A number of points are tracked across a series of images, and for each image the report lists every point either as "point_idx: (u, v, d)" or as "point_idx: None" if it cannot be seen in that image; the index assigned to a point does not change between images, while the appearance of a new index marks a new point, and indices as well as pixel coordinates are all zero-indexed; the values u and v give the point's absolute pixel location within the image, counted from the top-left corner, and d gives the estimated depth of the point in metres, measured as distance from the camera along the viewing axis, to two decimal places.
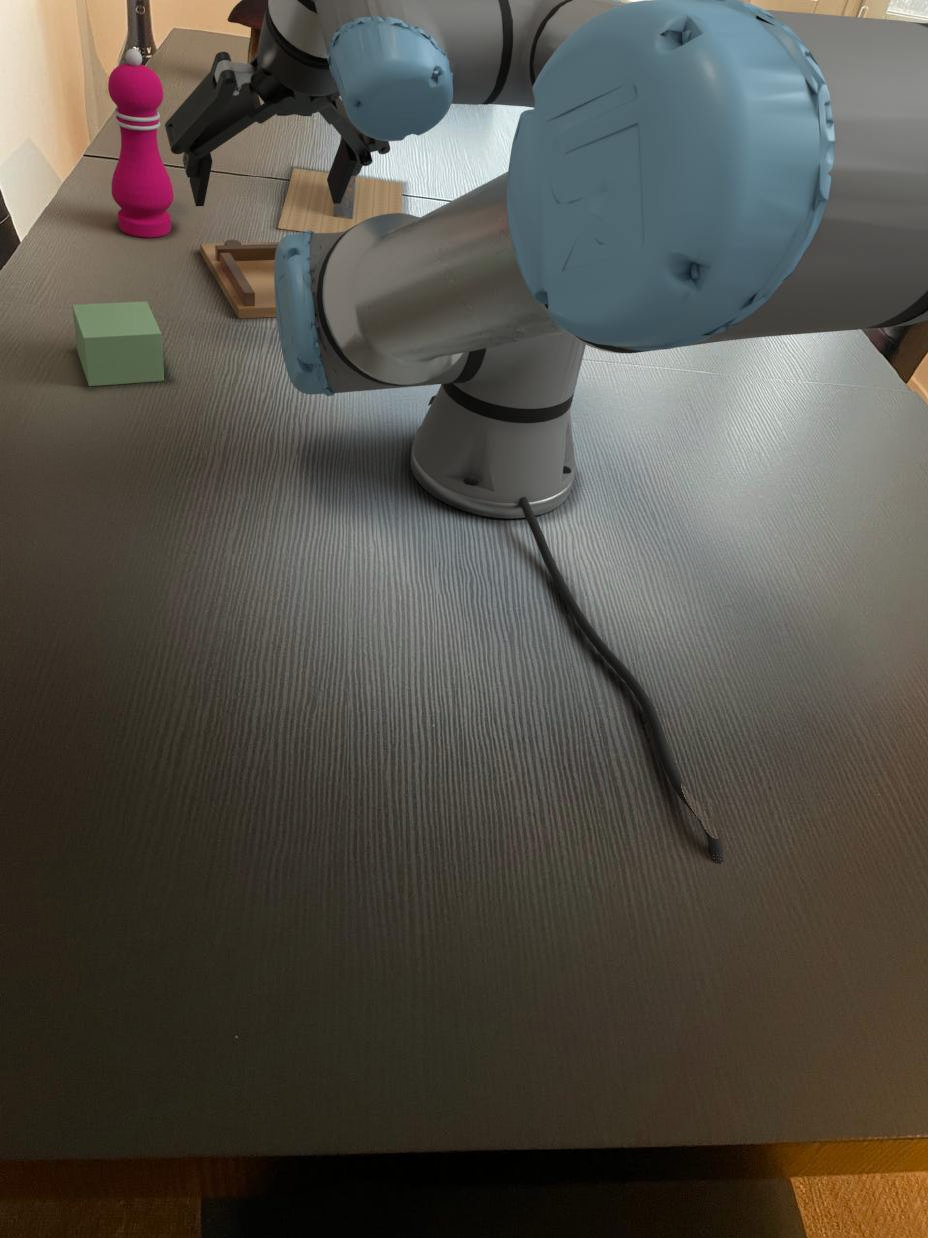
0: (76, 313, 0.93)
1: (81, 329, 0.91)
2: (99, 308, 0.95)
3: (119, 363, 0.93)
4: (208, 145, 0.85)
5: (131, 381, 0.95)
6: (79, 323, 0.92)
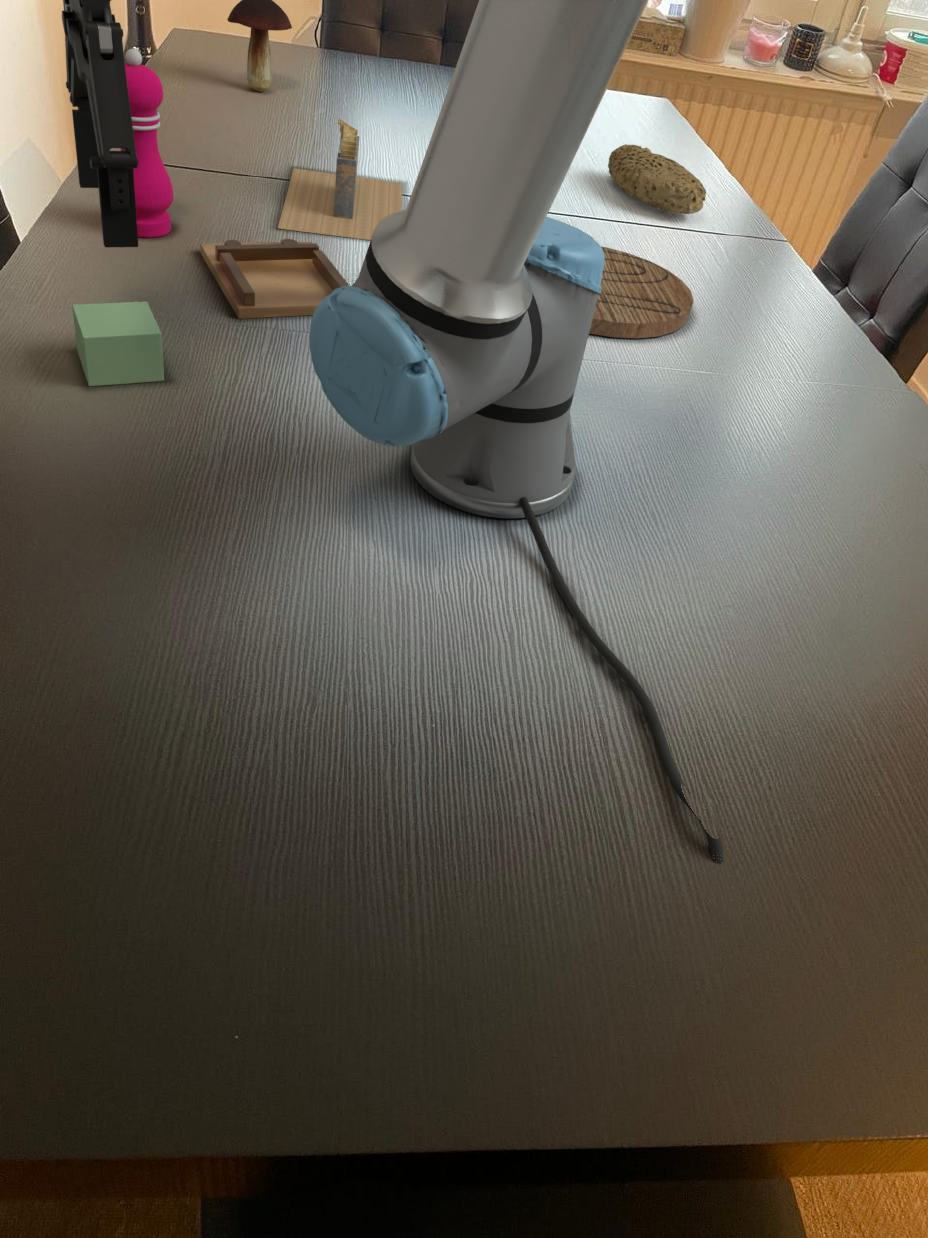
0: (76, 313, 0.93)
1: (81, 329, 0.91)
2: (99, 308, 0.95)
3: (119, 363, 0.93)
4: None
5: (131, 381, 0.95)
6: (79, 323, 0.92)
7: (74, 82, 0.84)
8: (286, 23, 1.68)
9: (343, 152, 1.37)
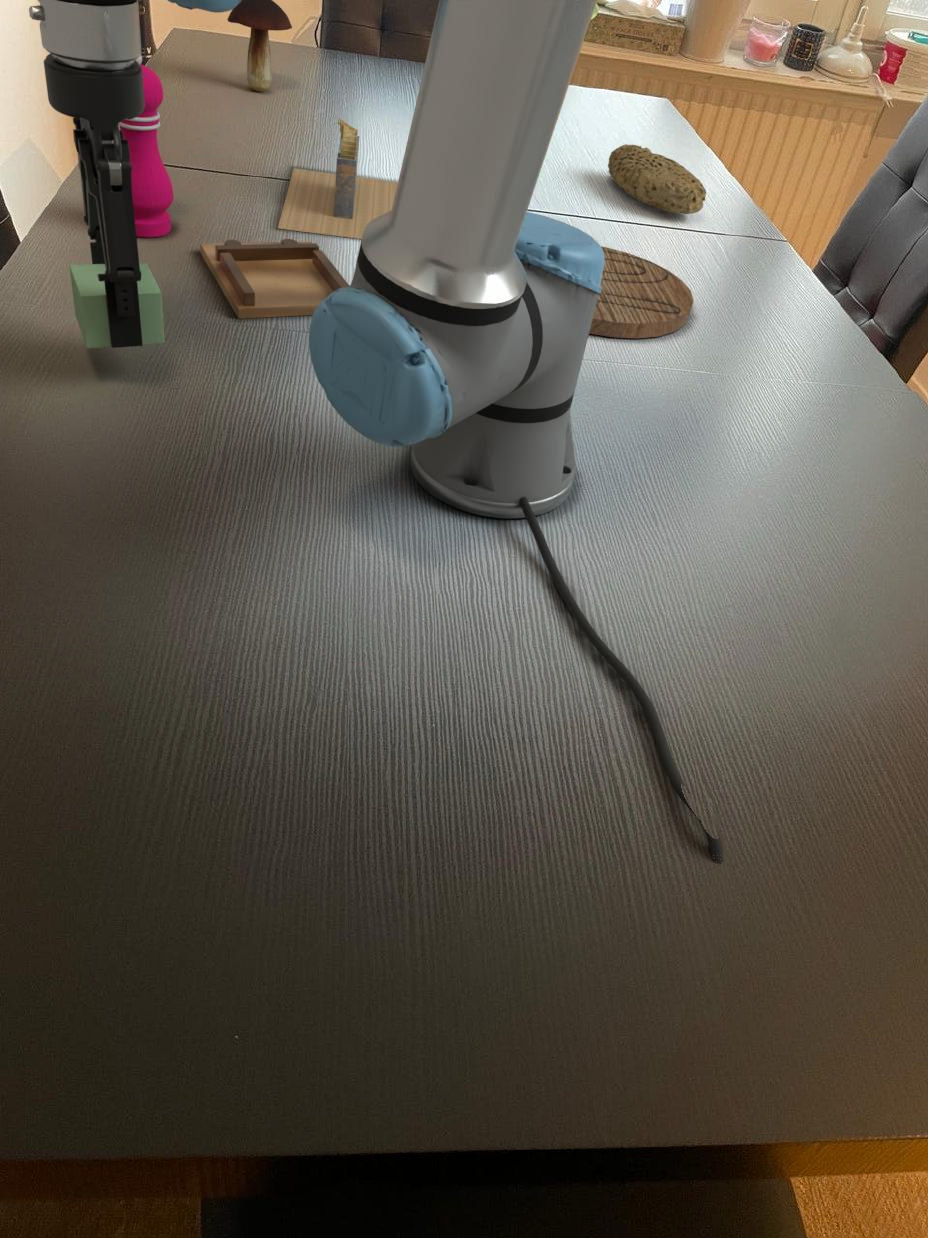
0: (73, 273, 0.91)
1: (78, 288, 0.88)
2: (97, 269, 0.92)
3: None
4: None
5: None
6: (76, 282, 0.89)
7: (90, 209, 0.89)
8: (286, 23, 1.68)
9: (343, 152, 1.37)
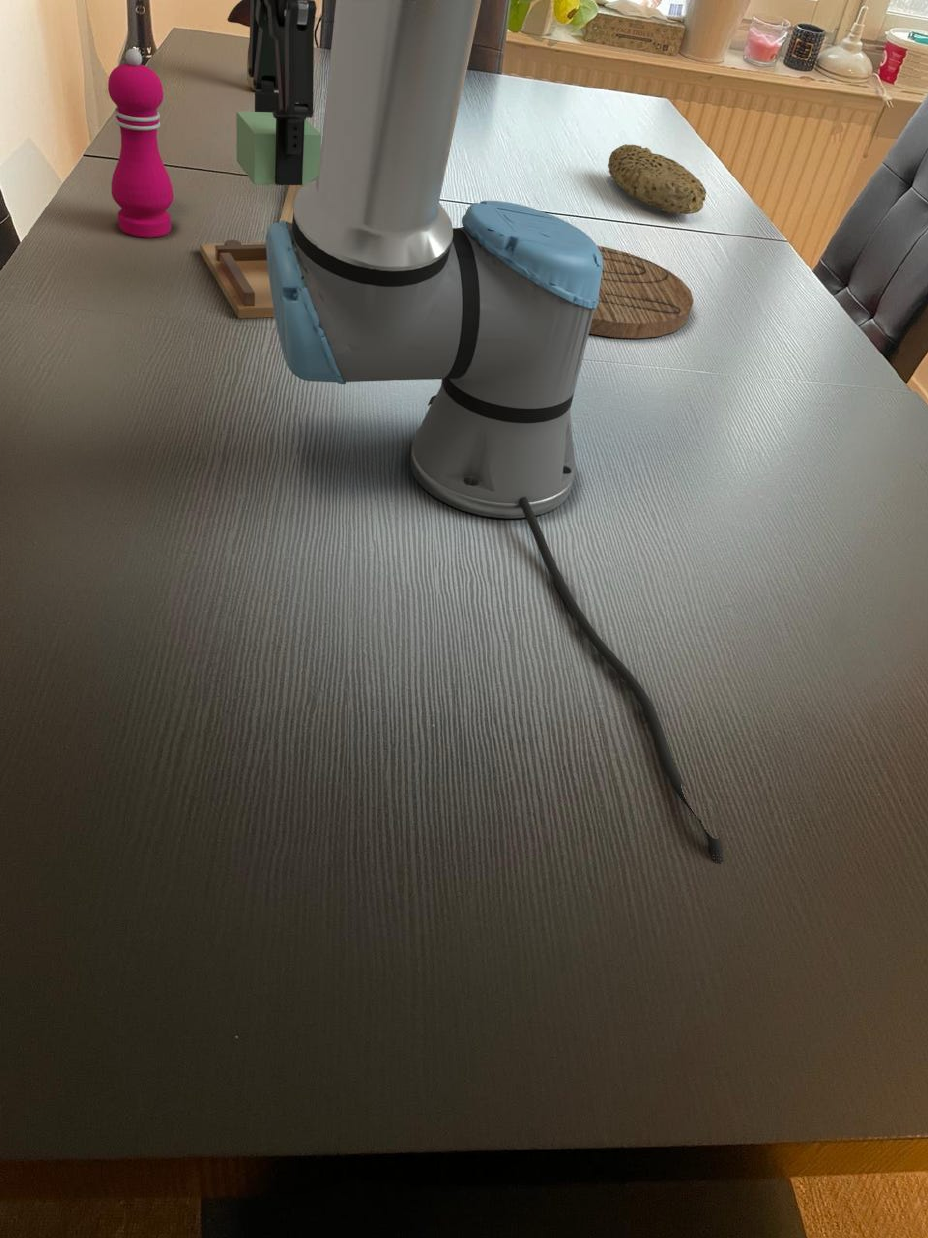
0: (242, 117, 1.01)
1: (250, 127, 0.99)
2: (261, 115, 1.03)
3: None
4: None
5: None
6: (247, 123, 1.00)
7: (260, 57, 1.00)
8: None
9: None
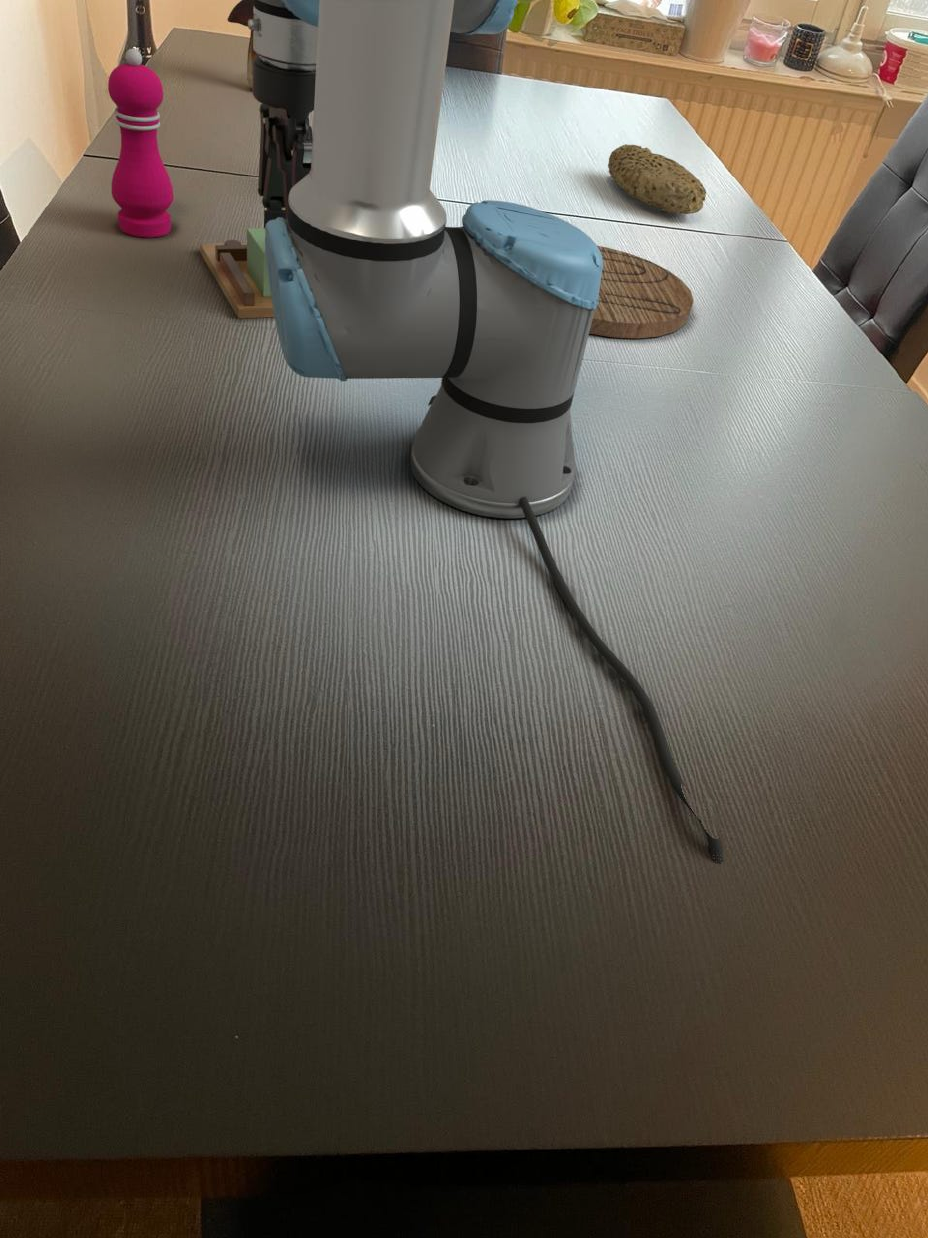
0: (252, 235, 1.11)
1: (260, 247, 1.08)
2: None
3: None
4: None
5: None
6: (257, 242, 1.09)
7: (269, 182, 1.09)
8: None
9: None
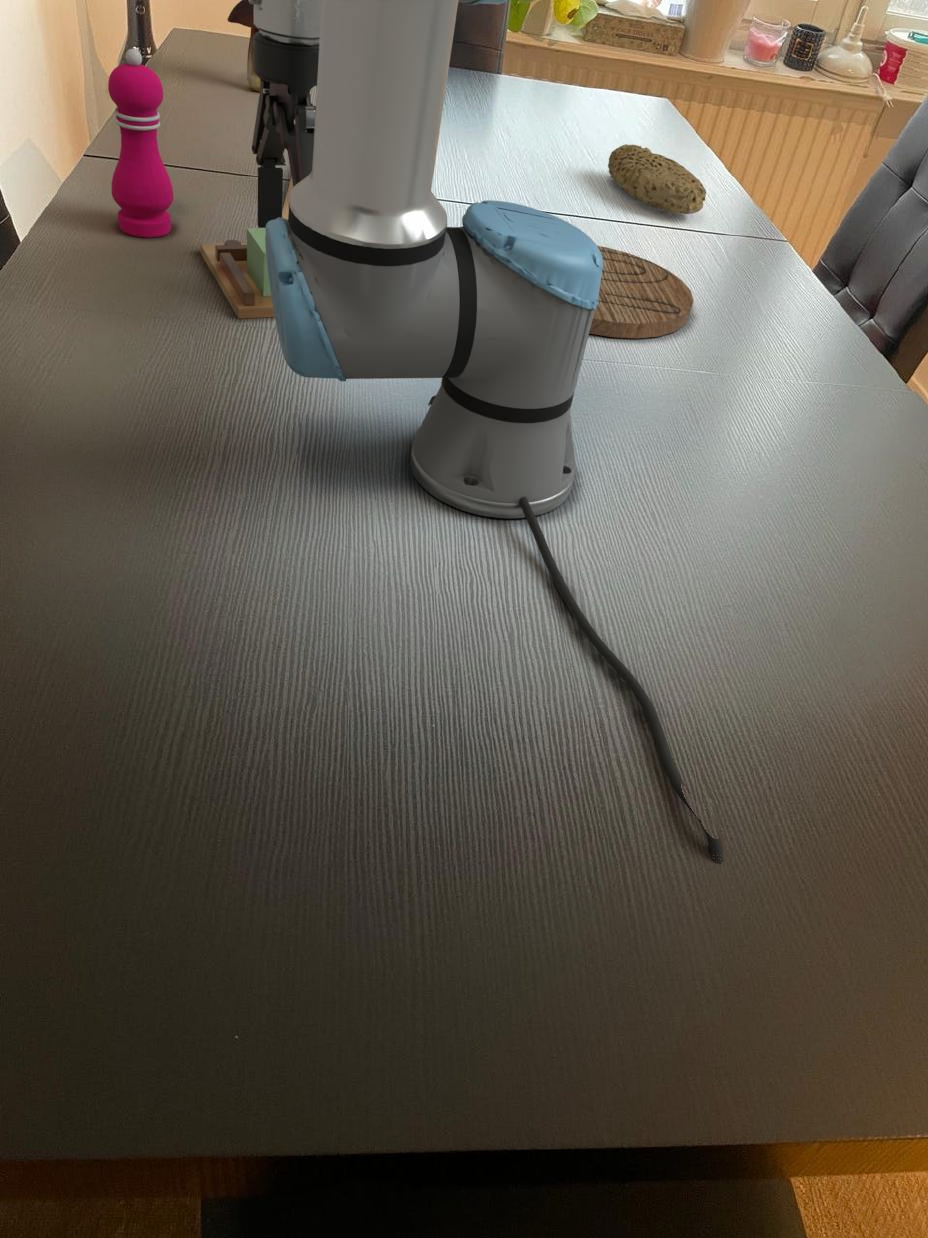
0: (252, 235, 1.11)
1: (260, 246, 1.08)
2: None
3: None
4: None
5: None
6: (257, 242, 1.09)
7: (264, 147, 1.08)
8: None
9: None
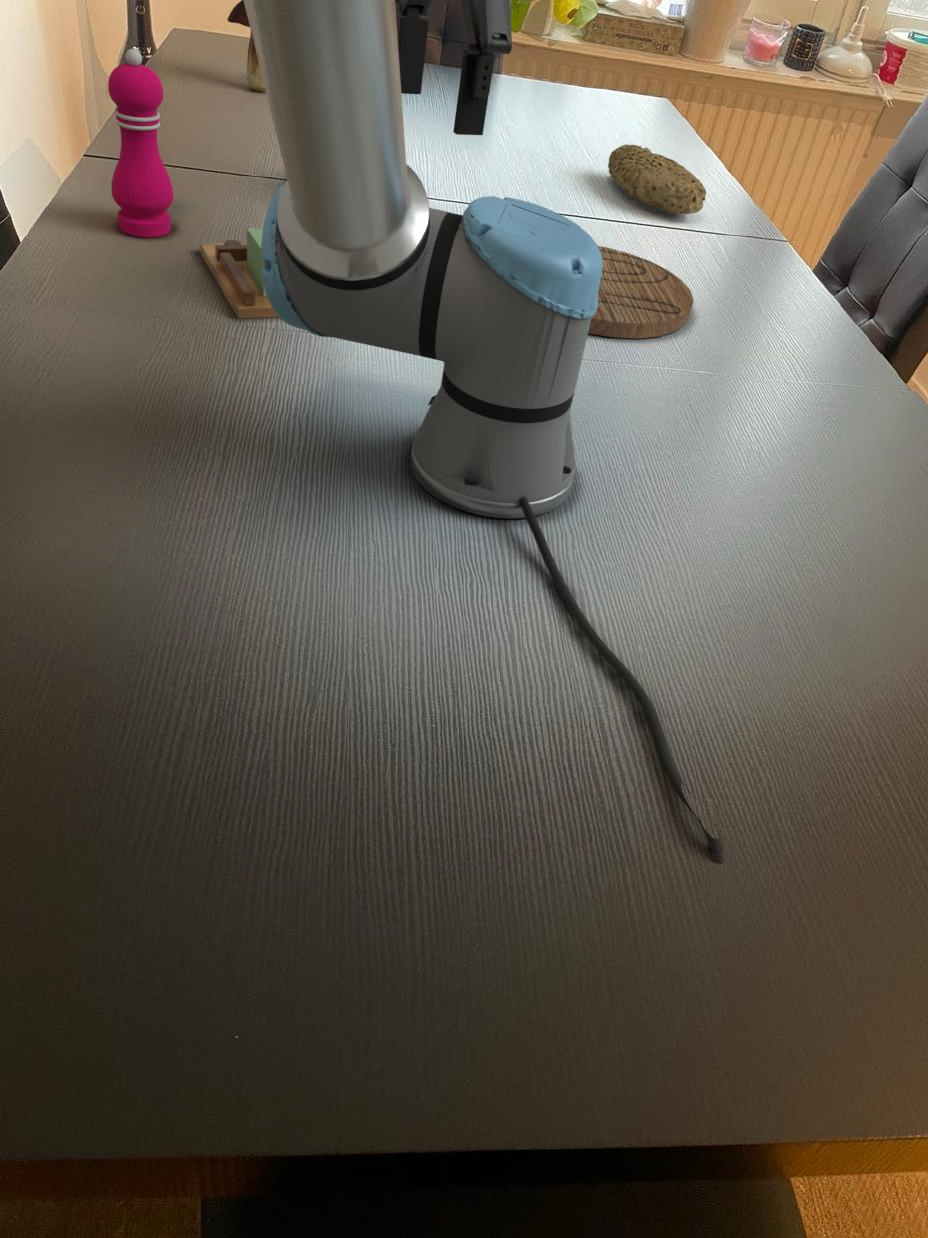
0: (252, 235, 1.11)
1: (260, 246, 1.08)
2: None
3: None
4: None
5: None
6: (257, 242, 1.09)
7: None
8: None
9: None
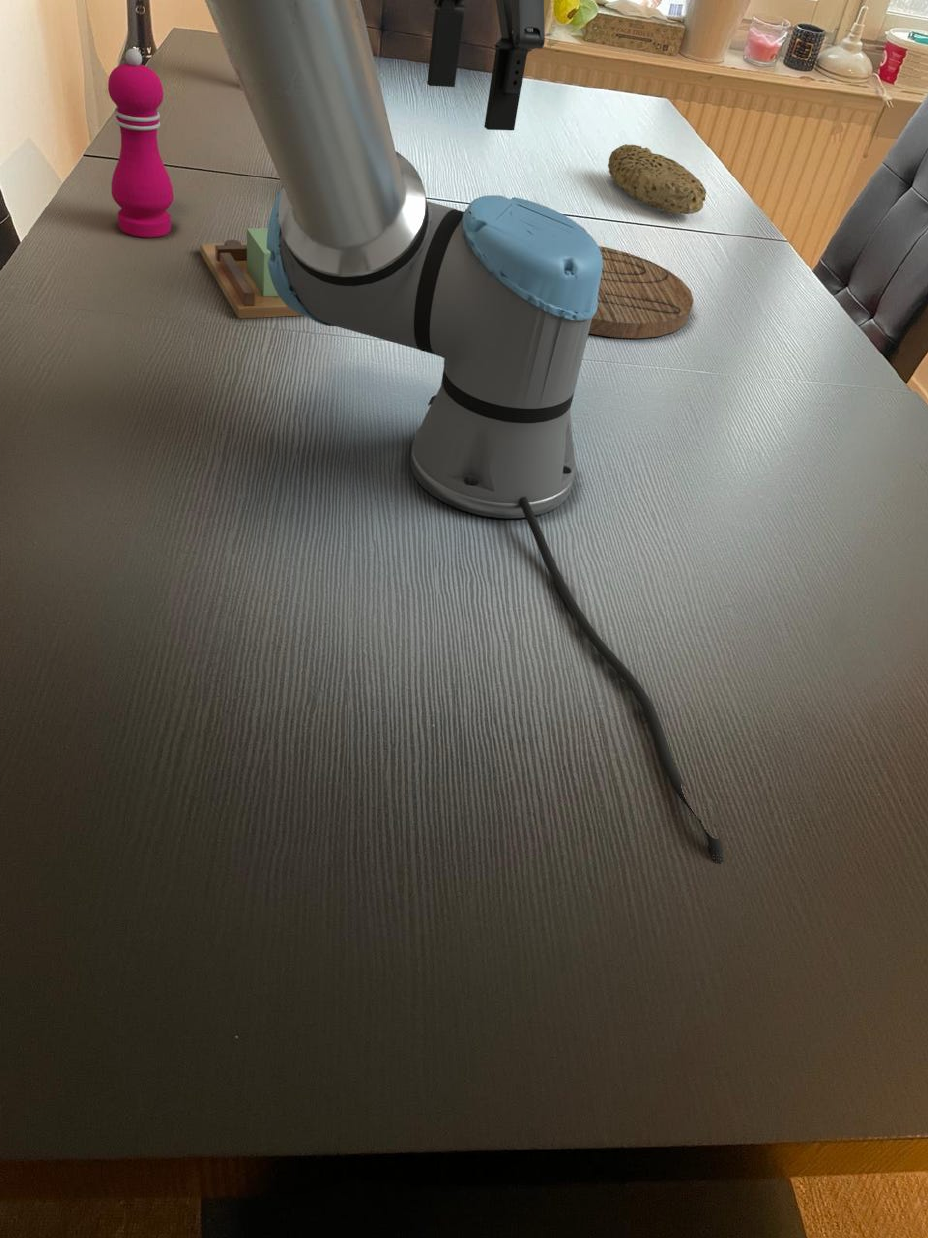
0: (252, 235, 1.11)
1: (260, 246, 1.08)
2: None
3: None
4: None
5: None
6: (257, 242, 1.09)
7: None
8: None
9: None
